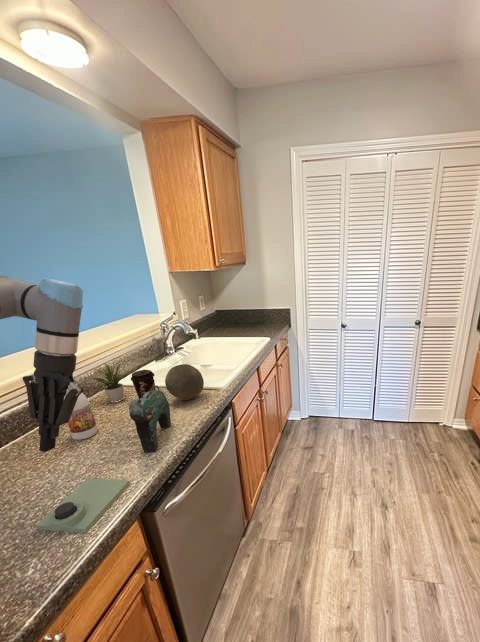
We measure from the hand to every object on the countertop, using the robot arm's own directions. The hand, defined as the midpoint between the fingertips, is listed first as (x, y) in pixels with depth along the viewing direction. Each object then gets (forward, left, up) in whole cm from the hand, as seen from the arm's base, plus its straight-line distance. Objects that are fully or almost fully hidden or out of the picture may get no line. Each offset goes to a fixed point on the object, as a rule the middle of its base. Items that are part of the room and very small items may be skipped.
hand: (47, 449), depth 76 cm
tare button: (+3, -11, -12) cm, 16 cm away
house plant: (+7, +62, -14) cm, 64 cm away
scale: (+6, -6, -14) cm, 16 cm away
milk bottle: (-1, +34, -14) cm, 37 cm away
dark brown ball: (+34, +46, -14) cm, 59 cm away
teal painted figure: (+22, +19, -14) cm, 32 cm away
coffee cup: (+19, +52, -14) cm, 57 cm away
